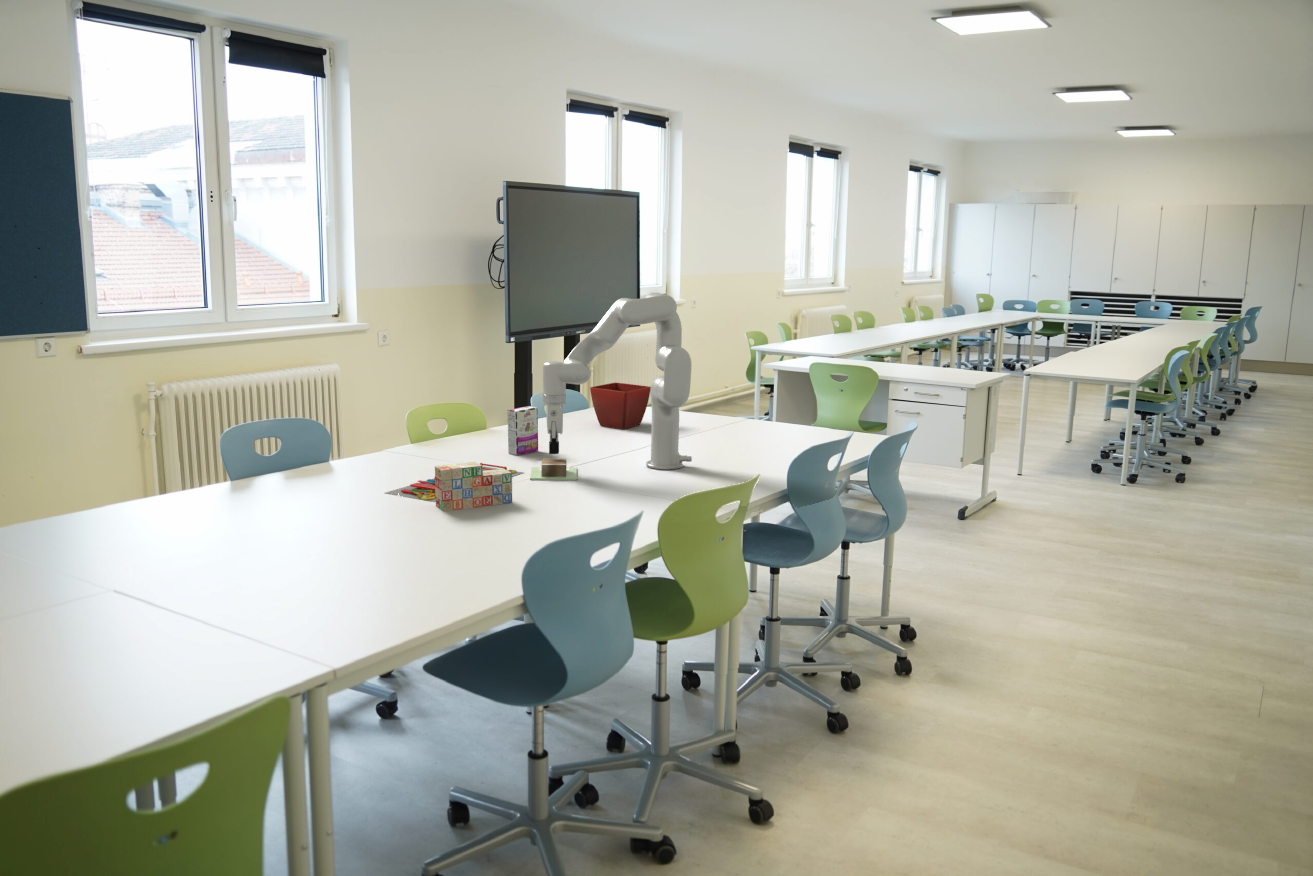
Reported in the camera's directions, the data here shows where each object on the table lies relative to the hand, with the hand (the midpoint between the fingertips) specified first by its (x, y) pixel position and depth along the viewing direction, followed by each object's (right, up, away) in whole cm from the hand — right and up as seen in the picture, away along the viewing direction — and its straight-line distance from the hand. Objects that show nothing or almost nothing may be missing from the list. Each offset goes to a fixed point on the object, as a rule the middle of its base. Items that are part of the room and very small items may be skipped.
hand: (554, 453), depth 328 cm
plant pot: (+19, +10, +89) cm, 91 cm away
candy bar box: (-15, 0, +32) cm, 35 cm away
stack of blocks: (-19, -15, -41) cm, 47 cm away
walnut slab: (0, -4, +1) cm, 4 cm away
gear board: (-29, -10, -15) cm, 34 cm away
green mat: (0, -7, -1) cm, 7 cm away
